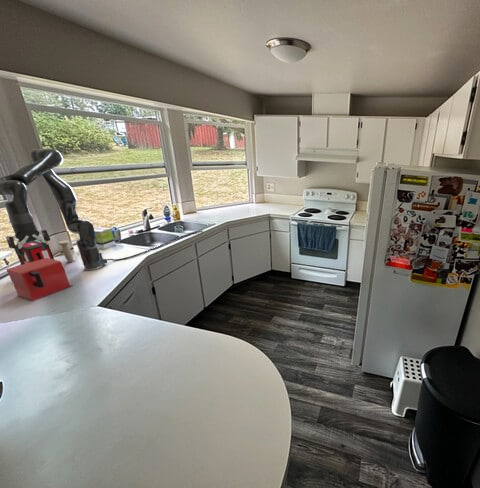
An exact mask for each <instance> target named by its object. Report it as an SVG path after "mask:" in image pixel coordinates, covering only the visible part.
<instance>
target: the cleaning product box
mask: <svg viewBox="0 0 480 488" xmlns="http://www.w3.org/2000/svg"><path fill="white" fill-rule="evenodd" d="M46 244H47V247H48V248H47V250H43V249H42V246H41V242H40V241H37V240H35V241H30V242H25V244H24V245H23V246H22V249H23V251H24V254H25V255H23V256H22V255H19V254H18V252H17V250H16V249H14V251H15V255H16V256H17V258H18V261H19V263H20V265H23V264H27V263H30V262H34V261H37V260H41V259H45V258H49V259H53V260H55V257H54V255H53V253H52V249H51V247H50V245H49V244H48V243H46ZM15 246H16V244H15Z"/></svg>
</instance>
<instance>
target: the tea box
mask: <svg viewBox="0 0 480 488" xmlns="http://www.w3.org/2000/svg"><path fill="white" fill-rule="evenodd" d="M93 227H94V226H93ZM94 230H95V234H96V244H97V247H98V249H103V250H106V249H108V248H111V247H113V246H116V241H115V237H114V233H113V231H112V228H111V227H99V226H95V227H94Z"/></svg>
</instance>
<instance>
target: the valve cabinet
mask: <svg viewBox="0 0 480 488" xmlns="http://www.w3.org/2000/svg"><path fill="white" fill-rule="evenodd" d="M57 262H61V261H60V260H57V259H54V260H53V259H49V258H45V259H41V260H37V261H34V262H30V263H27V264H23V265H21V264H20V265H16V266H13V267H9V268H5V270H6V272H7V274H8V276H9V278H10V280H11V283H12V285H13V288H14V289H15V291H16V294H17V296H18V297H21V298H24V299H26V300H27V299H28V300H30V301H33V300H32V299H31V297H30V295H29V293H28V290H27V288H26V286H25V284H24V281H23V279H22V277H21V275H20V273H23V272H27V271H30V270H33V269H37V268H40V267H43V266H47V265H50V264H53V263H57Z"/></svg>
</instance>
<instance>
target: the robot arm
mask: <svg viewBox="0 0 480 488" xmlns="http://www.w3.org/2000/svg"><path fill="white" fill-rule="evenodd" d="M29 153H30V159H31V160H32V163H27V164H25V165H23V166H21V167H19V168H18V169H16V170H15V171H13V172H12V173H10V174H7V175H5V176H2V177H0V196H12V199H11V200H7V201H5V202H4V206H5V210H6V213H7V216H8V219H9V223H10V225H11V228H12V230H13V233H14V235H11V236H9V235H7V236H6V238H5V239H6V242H7V245H8V249H14V250H15V249H16V250H17V252H18V254H19V255H22V256H23V255H25V254H24V251H23V249H22V246H23V245H24V244H25V242H30V241H37V242H40V243H41V246H42V249H43V250H47V248H48V247H47V244H48V243H47V242H50V241H51V237H50V236H49V233H48V230H46V229H40V230H38V228H37V224H36V222H35V220H34V216H33V215H32V213H31V211H30V207H29V205H28V187H27V186H30V185H31V184H32V183H34V182H35V181H36V180H37V179H39V178H40V177H41V176H42V178H43V180H44V181H45V183H46V185H47V187H48V189H49V191H50V193H51V195H52V197H53V199H54V202H56V204H57V206H58V209H59V210H60V212H61V214H62V217H63V220H64V223H65V226H66V228H67V229H68V231H69V232H70V233H72V234H75V235H78V236H79V239H77V240H76V241H75V243H76V247H77V249H78V252H79V256H80V259H81V261H82V265H83V267H84V270H85V271H95V270H98V269H101V268H103V267H104V266H106V265H105V264H108V261H114V262H115V261H122V260H126V259H131V258H133V257H136V256H139V255H142V254H145V253H148V252H150V251H152V250H155V249H157V248H159V247H162V246H164V245H167V244H168V243H171V242H173V241H176V240H178V239H181V238H183V237H187V236H190V235H194V234H197V233H201V232H203V230H198V231H195V232H191V233H188V234H187V233H186V234H184V235H180V236H178V237H175V238H173V239H170V240H168V241H166V242H164V243H162V244H159V245H160V246H159V245H157V246H158V247H157V246H154V247H155V248H154V247H152V248H153V249H152V248H150V249H147V250H148V251H147V250H144V251H141V252H139V253H136V254H133V255H130V256H126V257H123V258H117V259H116V258H114V259H113V258H104V257H103V255H102V252H100V250H99V248H98V247H97V244H96V234H95V230H94V225H93V223H92V222H91V221H90V220H87V219H81V218H80V217H79V214H78V212H77V202H78V201H77V196H76V194H75V192H74V190H73V188H72V186H70V185H69V184H68V183H67V182H66V181H64V180H63V179H62V178H61V177H59V176H58V175H57V174H56V173H55V172H54V170H53V169H55V168H58V167H60V166H61V165H62V164H63V163H64V157H63V155H62V154H61V152H60V151H58V150H56V149H54V148H33V149H31V150H30V152H29ZM40 235H42V237H43V238H42V237H40ZM16 239H17V241H16V243H15V240H16ZM15 245H16V246H15Z"/></svg>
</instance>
